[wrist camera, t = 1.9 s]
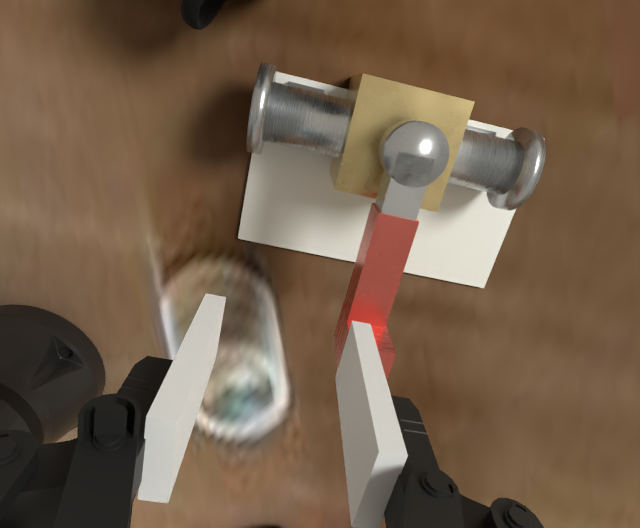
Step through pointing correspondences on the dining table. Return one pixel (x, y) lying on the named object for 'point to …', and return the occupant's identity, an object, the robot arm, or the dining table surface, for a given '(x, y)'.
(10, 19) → the dining table surface
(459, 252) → the board
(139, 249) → the dining table surface
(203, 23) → the mug
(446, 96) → the valve
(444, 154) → the lever
